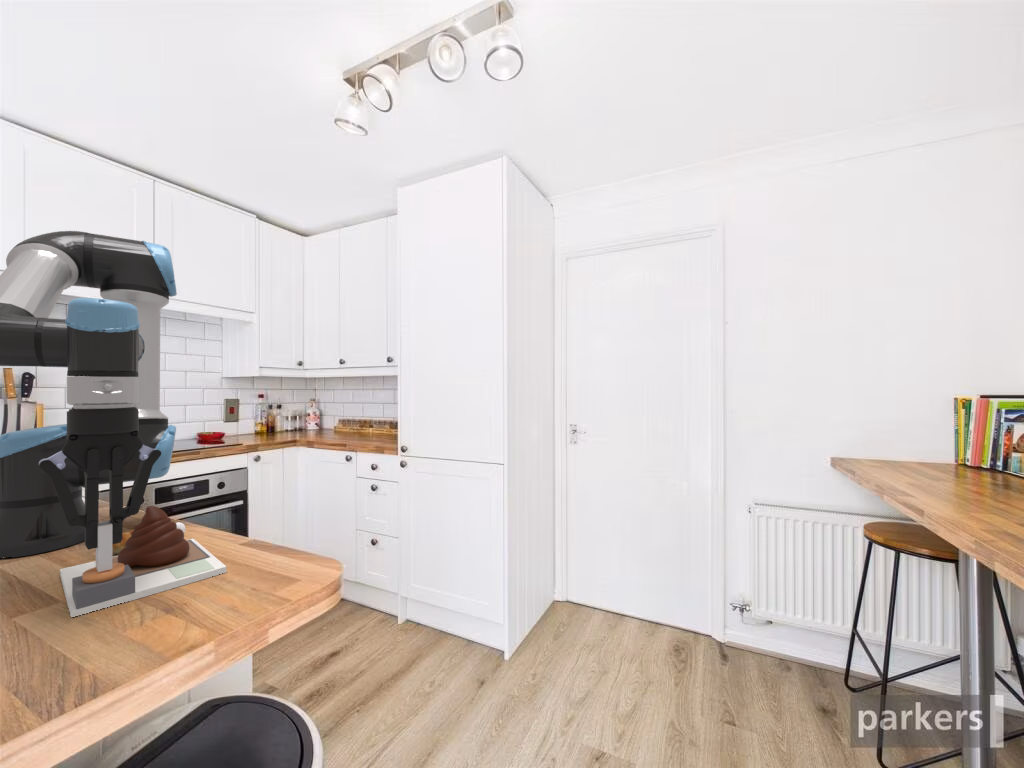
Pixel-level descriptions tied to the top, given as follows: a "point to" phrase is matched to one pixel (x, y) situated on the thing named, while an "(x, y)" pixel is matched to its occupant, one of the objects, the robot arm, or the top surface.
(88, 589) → the picture board
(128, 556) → the poop emoji
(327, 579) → the top surface
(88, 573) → the button
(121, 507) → the robot arm
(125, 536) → the pastry
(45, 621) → the top surface
